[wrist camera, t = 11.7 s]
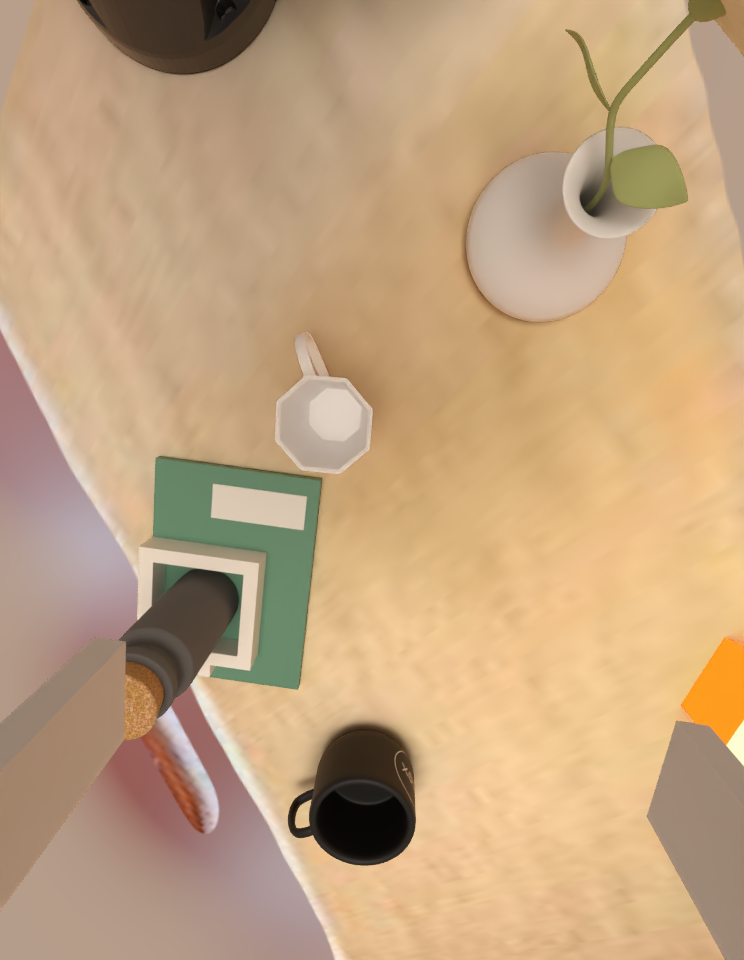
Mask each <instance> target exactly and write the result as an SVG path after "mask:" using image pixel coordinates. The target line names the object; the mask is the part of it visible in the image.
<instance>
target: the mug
mask: <svg viewBox="0 0 744 960" xmlns="http://www.w3.org/2000/svg"><path fill="white" fill-rule="evenodd" d="M311 799H312V801H311V806H310V811H309V823H310V826H308V827H305V828H296V826H295V816H296V812H297V810H298V808H299V807H300V805H302V804H303V803H305V802H307V801H309V800H311ZM415 823H416V816H415V793H414V773H413V768H412V765H411V762H410V760H409V758H408V756H407V754H406V753H405V751H404V750H403V749H402V747H401V746H400V745H399V744H398V743H397V742H396V741H394V740H393V739H392V738H390V737H389V736H387V735H385V734H383V733H380V732H376V731H371V730H359V731H353V732H349V733H347V734H345V735H343V736H341V737H339V738H338V739H337V740H335V741H334V742H333V743H332V744H331V745H330V746H329V747H328V748H327V750H326V751H325V752H324V754H323V756H322V758H321V760H320V763H319V766H318V770H317V775H316V781H315V786H314V789H312V790H309V791H307V792H305V793H303V794H301V795H299V796H298V797H297V798H296V799H295V800H294V801H293V803H292V805H291V807H290V810H289V814H288V825H289V829H290V832H291V833H292V834H293V836H295V837H297V838H305V837H309V836H312V835H313V836H314V838H315V840H316V841H317V843H318V844H319V845H320V847H321V848H322V849H323V850H324V851H326V852H327V853H328V854H329V855H331V856H333V857H334V858H336V859H338V860H340V861H343V862H346V863H349V864H354V865H376V864H381V863H384V862H387V861H389V860H391V859H393V858H395V857H396V856H398V855H399V854H400V853H402V852H403V851H404V850H405V848H406V847H407V846H408V845H409V843H410V841H411V839H412V837H413V835H414V831H415Z"/></svg>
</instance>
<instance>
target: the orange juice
mask: <svg viewBox="0 0 744 960" xmlns="http://www.w3.org/2000/svg"><path fill="white" fill-rule="evenodd" d="M681 706H682V707H683V709H684V710H685V711H686V712H687V713H688V715H689V716H690V717H691V718H692V719H693V721H694V722H695V723H696V724H702V725H709V726H710V727H711V728H712V729H713V731H714V732H715V733H716V734H717V735H718V736H719V738H720V739H721V740H722V741H723V742H724V743H725V745H726V746H727V747H728V748H729V749H730V750H731V752H732V753H733V754H734V755H735V756H736V757H737V759H738V760H739V761H740V762H741V763H742V764H743V766H744V645H742V644H739V643H737V642H735V641H732V640H730V639H727V638H724V639H723V641H722V643H721V644H720V646H719V647H718V649H717V650H716V652H715V653H714V655H713V656H712V658H711V659H710V661H709V663H708V664H707V666H706V667H705V669H704V670H703V672H702V673H701V675H700V676H699V678H698V679H697V681H696V682H695V684H694V686H693V687H692V689H691V690H690V692H689V693H688V695H687V696H686V698H685V699H684V701H683V702H682V704H681Z"/></svg>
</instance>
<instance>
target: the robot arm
mask: <svg viewBox="0 0 744 960" xmlns="http://www.w3.org/2000/svg"><path fill="white" fill-rule="evenodd" d="M77 1H78V3H79V4H80V6H81V7H82V9H83V10H84V11H85V13H86V14H87V15H88V16H89V18H90V19H91V20H92V21H93V22H94V23H95V24H96V26H97V27H98V28H99V29H100V30H101V31H102V32H103V33H104V34H105V36H106V37H107V38H108V39H109V40H110V41H111V42H112V43H113V44H114V45H115V46H116V47H117V48H119V49H120V50H121V51H122V52H124V53H125V54H126V55H128V56H129V57H131V58H132V59H134V60H136V61H137V62H139V63H141V64H143V65H146V66H148V67H150V68H153V69H156V70H160V71H164V72H170V73H196V72H201V71H205V70H209V69H212V68H214V67H217V66H219V65H221V64H223V63H225V62H227V61H229V60H230V59H232V58H233V57H235V56H236V55H238V54H239V53H240V52H241V51H242V50H244V49H245V48H246V47H247V46H248V45H249V44H250V43H251V41H252V40H253V39H254V38H255V37H256V36H257V34H258V33H259V32H260V30H261V29H262V27H263V26H264V24H265V22H266V21H267V19H268V17H269V15H270V13H271V11H272V9H273V6H274V4H275V1H276V0H77ZM125 664H126V642H125V641H118V640H111V639H104V638H97V637H94V638H93V639H92V640H91V641H90V642H89V643H87V644H86V645H85V646H84V647H83V648H82V649H81V650H80V651H79V652H78V653H76V654H75V655H74V656H73V657H72V658H71V659H70V660H69V661H68V662H67V663H66V664H64V665H63V666H62V667H61V668H60V669H59V670H58V671H57V672H56V673H55V674H53V675H52V676H51V677H50V678H49V679H48V680H47V681H46V682H45V683H44V684H43V685H41V686H40V688H38V689H37V690H36V691H35V692H34V693H33V694H32V695H31V696H29V697H28V698H27V699H26V700H25V701H24V702H23V703H22V704H21V705H20V706H18V707H17V708H16V709H15V710H14V711H13V712H12V713H11V714H10V715H9V716H8V717H6V718H5V719H4V720H3V721H2V722H1V723H0V911H1V910H2V908H3V907H4V905H5V904H6V903H7V901H8V900H9V898H10V897H11V896H12V894H13V893H14V891H15V890H16V889H17V887H18V886H19V885H20V883H21V882H22V880H23V879H24V877H25V876H26V875H27V873H28V872H29V871H30V869H31V868H32V867H33V865H34V864H35V862H36V861H37V860H38V858H39V857H40V855H41V854H42V853H43V851H44V850H45V848H46V847H47V846H48V844H49V843H50V841H51V840H52V839H53V837H54V836H55V834H56V833H57V832H58V830H59V829H60V827H61V826H62V825H63V823H64V822H65V821H66V819H67V818H68V817H69V815H70V813H71V812H72V811H73V809H74V808H75V807H76V805H77V804H78V803H79V801H80V800H81V798H82V797H83V796H84V794H85V793H86V792H87V790H88V789H89V787H90V786H91V785H92V783H93V782H94V781H95V779H96V778H97V776H98V775H99V773H100V772H101V771H102V769H103V768H104V766H105V765H106V764H107V762H108V761H109V760H110V758H111V757H112V756H113V754H114V753H115V751H116V750H117V749H118V747H119V746H120V744H121V743H122V742H123V740H124V713H125ZM647 818H648V820H649V821H650V823H651V825H652V827H653V829H654V831H655V832H656V834H657V836H658V838H659V840H660V842H661V843H662V845H663V847H664V849H665V851H666V852H667V854H668V856H669V858H670V860H671V862H672V863H673V865H674V867H675V869H676V871H677V873H678V874H679V876H680V878H681V880H682V882H683V884H684V885H685V887H686V889H687V891H688V893H689V895H690V896H691V898H692V900H693V902H694V904H695V905H696V907H697V909H698V911H699V913H700V915H701V916H702V918H703V920H704V922H705V924H706V926H707V927H708V929H709V931H710V933H711V935H712V937H713V938H714V940H715V942H716V944H717V946H718V947H719V949H720V951H721V953H722V955H723V957H724V958H725V960H744V766H743V764H742V763H741V762H740V761H739V760H738V759H737V757H736V756H735V755H734V754H733V753H732V752H731V750H730V749H729V748H728V747H727V746H726V745H725V743H724V742H723V741H722V740H721V739H720V738H719V736H718V735H717V734H716V733H715V732H714V731H713V729H712V728H711V727H710V726H709V725H702V724H695V723H688V722H681V721H676V724H675V727H674V730H673V734H672V737H671V740H670V743H669V747H668V750H667V753H666V756H665V759H664V763H663V766H662V769H661V772H660V776H659V779H658V782H657V785H656V789H655V792H654V795H653V798H652V802H651V805H650V808H649V811H648V815H647Z"/></svg>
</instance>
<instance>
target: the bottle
mask: <svg viewBox="0 0 744 960" xmlns="http://www.w3.org/2000/svg"><path fill="white" fill-rule="evenodd" d="M238 604H239V596H238V592H237V589H236V587H235V585H234V583H233V582H232V581H231V579H230V578H228V577H227V576H226V575H225V574H224V573H222V572H219V571H212V570H205V569H198V568H197V569H193V570H191V571H189V572H187V573H186V574H184V575H183V576H182V577H181V578H180V579H179V580H178V581H177V582H176V583H175V584H174V585H173V586H172V587H171V588H170V589H169V590H168V591H167V592H165V593H164V594H163V595H162V596H161V597H160V598H159V599H158V600H157V601H156V602H155V603H154V604H153V605H152V606H151V607H150V608H149V609H148V610H147V611H146V612H145V613H144V614H143V615H142V616H141V617H140V618H139V620H138V621H137V622H136V623H135V624H134V625H133V626H132V627H131V628H130V629H129V630H128V631H127V632H126V633H125V634H124V635H123V636H122V637H121V638H120V639H119V641H125V642H126V664H125V713H124V740H132V739H136V738H139V737H141V736H143V735H144V734H146V733H147V732H148V731H149V730H150V729H151V728H152V727H153V725H154V723H155V721H156V719H157V718H159V717H160V716H162V715H163V714H164V713H165V712H166V711H167V710H168V708H169V707H170V706H171V704H172V703H173V701H174V699H175V698H176V697H178V696H179V695H181V694H182V693H183V692H184V691H186V689H187V688H188V687H189V686H190V684H191V683H192V681H193V680H194V678H195V677H196V675H197V674H198V672H199V671H200V669H201V668H202V666H203V665H204V663H205V662H206V660H207V658H208V657H209V655H210V654H211V652H212V651H213V649H214V648H215V646H216V644H217V643H218V641H219V640H220V638H221V636H222V635H223V633H224V632H225V630H226V629H227V627H228V625H229V624H230V622H231V621H232V619H233V617H234V615H235V614H236V611H237V609H238Z"/></svg>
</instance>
